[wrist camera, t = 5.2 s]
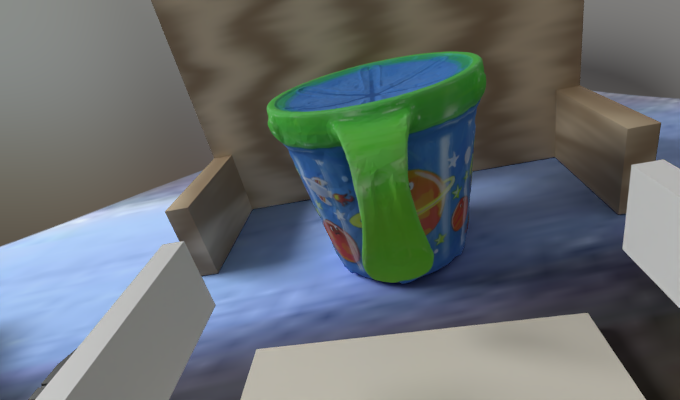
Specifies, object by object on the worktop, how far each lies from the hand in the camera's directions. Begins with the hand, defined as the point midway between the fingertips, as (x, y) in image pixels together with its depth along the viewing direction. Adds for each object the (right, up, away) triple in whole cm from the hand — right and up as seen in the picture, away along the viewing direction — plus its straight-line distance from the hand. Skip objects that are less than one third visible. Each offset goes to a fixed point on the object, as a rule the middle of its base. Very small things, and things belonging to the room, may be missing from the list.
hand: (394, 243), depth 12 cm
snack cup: (+2, -2, +12) cm, 12 cm away
